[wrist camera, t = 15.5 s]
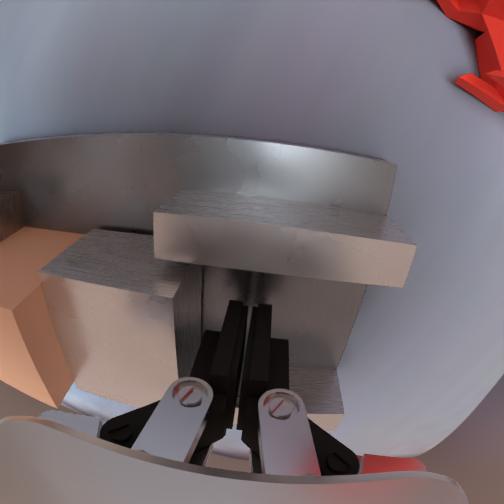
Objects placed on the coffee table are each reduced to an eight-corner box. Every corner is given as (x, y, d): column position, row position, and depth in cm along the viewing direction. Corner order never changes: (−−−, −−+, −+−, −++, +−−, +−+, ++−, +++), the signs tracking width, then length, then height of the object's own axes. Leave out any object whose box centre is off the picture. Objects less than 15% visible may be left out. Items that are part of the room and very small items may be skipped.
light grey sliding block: (110, 335, 14) (77, 388, 11) (93, 228, 12) (37, 271, 8) (200, 353, 14) (182, 417, 11) (202, 241, 12) (172, 298, 8)
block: (42, 305, 14) (-15, 370, 9) (24, 226, 12) (-55, 281, 7) (111, 324, 14) (57, 408, 9) (97, 235, 12) (11, 310, 7)
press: (42, 336, 18) (4, 384, 13) (4, 142, 12) (-67, 164, 7) (317, 389, 17) (324, 463, 12) (383, 159, 11) (450, 189, 6)
